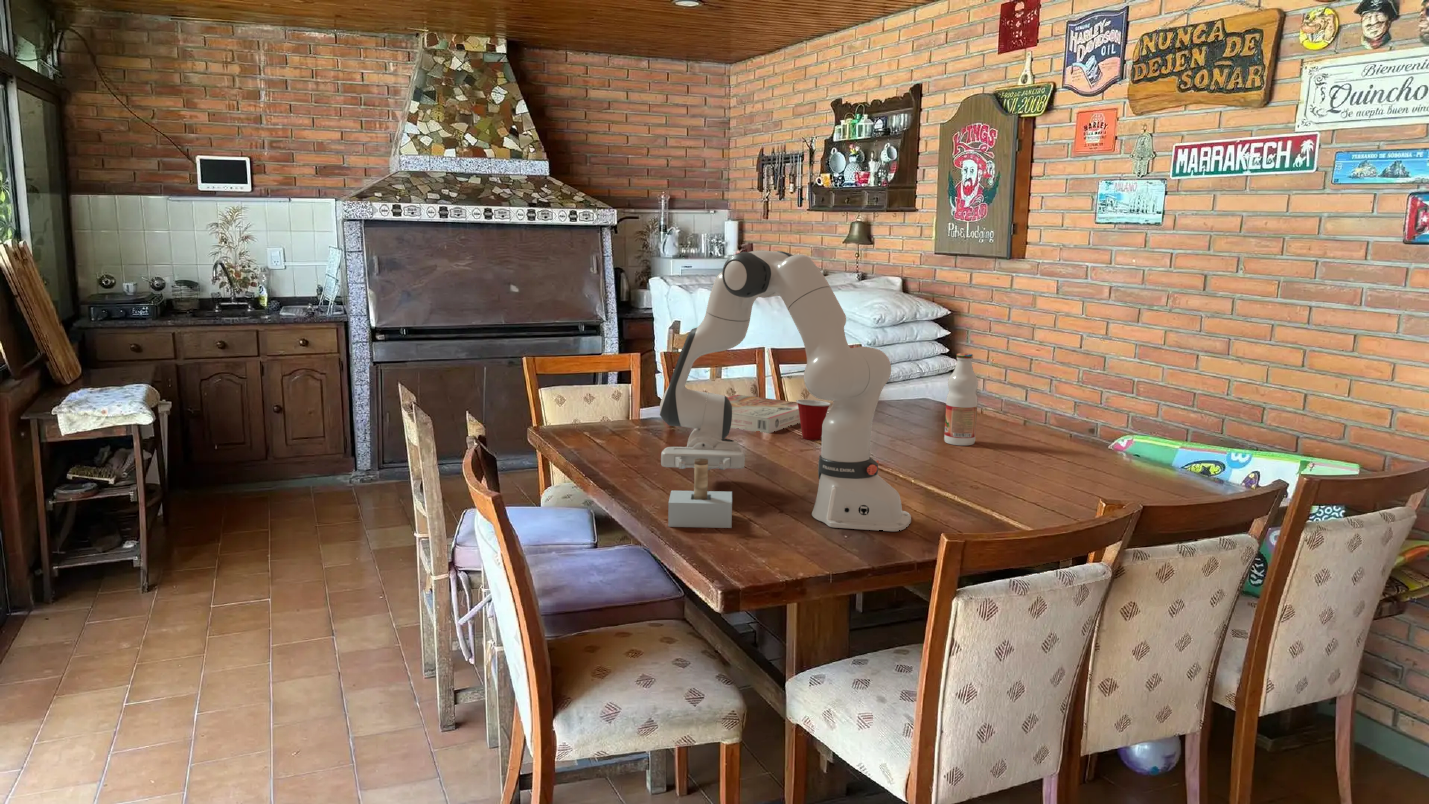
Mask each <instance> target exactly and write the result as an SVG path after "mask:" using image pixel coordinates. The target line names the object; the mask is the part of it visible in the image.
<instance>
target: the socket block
mask: <svg viewBox="0 0 1429 804" xmlns="http://www.w3.org/2000/svg"><path fill="white" fill-rule="evenodd" d="M667 508H668V514H667V515H668V516H667V520H668V522H667V525H668V526H667V527H668V528H669V527H671V528H672V527H673V528H717V529H718V528H719V529H720V528H722V529H724V528H725V529H727V528H728V529H732V528H733V527H732V523H733V520H732V519H733V518H732V516H733V491H723V490H721V491H720V490H719V491H715V490H713V491H712V490H710V491H709V490H708V492H707V500H694V490H671V491H670V494H669V499H668V507H667Z"/></svg>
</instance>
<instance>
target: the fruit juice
mask: <svg viewBox="0 0 1429 804" xmlns="http://www.w3.org/2000/svg"><path fill="white" fill-rule="evenodd" d="M973 358H974V355H973V354H972V353H967V352H960V353H956V365H955V366H954V367H955V368H954V369H953V371H952V373H951V374H950V375H949V376H948V380H947V386H948V393H947V395H946V401H945V419H944V437H943V441H944V442H945V443H947V444H949V445H954V446H963V447H964V446H965V447H966V446H973V445H974V444H975V442H976V432H977V416H978V415H977V414H978V395H977V390H978V387H979V378H978V377H977V375H976V373H975V371H974V368H973V364H972V363H973V360H974V359H973Z"/></svg>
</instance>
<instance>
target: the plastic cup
mask: <svg viewBox="0 0 1429 804" xmlns="http://www.w3.org/2000/svg"><path fill="white" fill-rule="evenodd" d="M795 402H797V403H798V409H799V416H800V423H799V424H800V428H801V436H802V439H804V440H807V441H808V440H809V441H818V440H820V439H821V440H822V424H823V421H824V419H825V417H826V416H827V414H828V410H829V407H830V406H832V405H831V403H830V402H828V401H825V400H823V401H822V400H818V399H817V400H815V399H797V400H796V401H795Z"/></svg>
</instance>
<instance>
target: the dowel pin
mask: <svg viewBox="0 0 1429 804" xmlns="http://www.w3.org/2000/svg"><path fill="white" fill-rule="evenodd" d="M693 471H694V473H693V474H694V481H693V482H694V483H693V484H694V485H693V491H694V500H707V492H708V491H709V490H708V481H709V480H708V479H709V476H708V474H709V470H708V459H704V458H698V459H695V460H694V468H693Z"/></svg>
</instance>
